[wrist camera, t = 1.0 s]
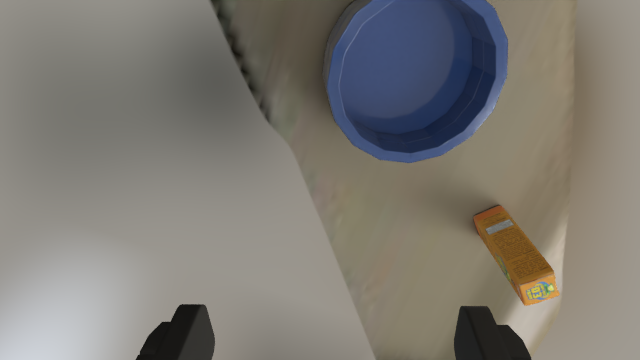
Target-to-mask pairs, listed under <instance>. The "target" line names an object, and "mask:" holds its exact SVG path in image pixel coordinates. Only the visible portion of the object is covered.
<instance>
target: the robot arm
mask: <svg viewBox="0 0 640 360" xmlns="http://www.w3.org/2000/svg"><path fill="white" fill-rule="evenodd" d="M214 346H215V338H214V333H213V329H212V326H211V322H210V319H209V315H208V312H207V308H206V306H205V305H196V304H195V305H194V304H191V305H188V304H185V305H183V304H182V305H180V306H179V307H178V308H177V310H176V312H175V314H174V316H173V318H172V320H171V322H162V323H161V324H160V325H159V326H158V327H157V328H156V329H155V330H154V331H153V332H152V333H151V334H150V335H149V336H148V338H147V340H146V342H145V344H144V345H143V347H142V349H141V351H140V355H138V356H137V358H136V360H211V359H212V356H213V353H214ZM454 350H455V356H456V360H531V356H530V354H529V352H528V350H527V348H526V346H525V344H524V342H523V340H522V339H521V338H520V337H519V336H518V335H517V334H516V333H515V332H514V331H513V330H512V329H511V328H510V327H509V326H508V325H496V322H495V320H494V318H493V316H492V313H491V311H490V309H489V308H488V307H487V306H461V307H460V310H459V316H458V321H457V326H456V332H455V337H454Z"/></svg>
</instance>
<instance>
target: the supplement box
mask: <svg viewBox="0 0 640 360" xmlns="http://www.w3.org/2000/svg"><path fill="white" fill-rule="evenodd" d="M473 219H474V222H475V225H476V228H477V230H478V233H479V236H480V237H481V239H482V240H483V242H484V243H485V245H486V246H487V248H488V249H489V251H490V253H491V254H492V256H493V257H494V259H495V260H496V262H497V263H498V265H499V266H500V268H501V270H502V271H503V273H504V274H505V276H506V278H507V279H508V281H509V282H510V284H511V285H512V287H513V288H514V290H515V291H516V293H517V294H518V296H519V298H520V299H521V301H522V302H523V304H524V305H526V306H527V305H531V304H535V303H539V302H542V301H545V300H548V299H550V298H553V297H556V296H559V295H560V294H559V291H558V290H557V287H556V282H555V278H556V277H555V273H554V270H553V269H552V268H551V266H550V265H549V264H548V262H547V261H546V260H545V259H544V257H543V256H542V255H541V254H540V252H539V251H538V250H537V249H536V247H535V246H534V245H533V244H532V242H531V241H530V240H529V239H528V237H527V236H526V235H525V234H524V232H523V231H522V230H521V229H520V228H519V226H518V225H517V224H516V223H515V221H514V220H513V219H512V218H511V217H510V215H509V214H508V213H507V212H506V211H505V209H504V208H503V207H502V206H500V205H499V206H496V207H494V208H491V209H489V210H487V211H484V212H482V213H480V214H477V215H475V216H474V217H473Z"/></svg>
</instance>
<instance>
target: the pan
mask: <svg viewBox="0 0 640 360" xmlns="http://www.w3.org/2000/svg"><path fill="white" fill-rule="evenodd" d="M507 58H508V39H507V37H506V34H505V32H504V30H503V27H502V25H501V22H500V20H499V18H498V15H497V13H496V11H495V8H493V6H492V5H491V4H489V3H488V2H487V1H486V0H355V1H354V2H352V3H351V4H350V5H349V6H348V7H347V9H345V11H344V12H343V14H342V15H341V16H340V18H339V19H338V21H337V22H336V24H335V26H334V28H333V30H332V32H331V34H330V36H329V38H328V40H327V45H326V50H325V54H324V62H323V70H322V75H323V80H324V84H325V89H326V93H327V97H328V101H329V105H330V108H331V112H332V115H333V118H334V120H335V122H336V123H337V124H338V126H339V127H340V128H341V130H342V131H343V132H344V134H345V135H346V136H347V138H348V139H349V140H350V142H351V143H352V144H353V145H354V146H356V147H358V148H359V149H361V150H363V151H365V152H367V153H368V154H370V155H372V156H374V157H376V158H377V159H380V160H388V161H397V162H405V163H412V162H416V161H421V160H425V159H429V158H433V157H437V156H441V155H443V154H445V153H446V152H448V151H449V150H451V149H453V148H454V147H456V146H457V145H459V144H461V143H462V142H464V141H465V140H467V139H469V138H470V137H471V136H472V135H473V134H474V133H475V131H476V130H477V129H478V128H479V127H480V126H481V124H482V123H483V122H484V121H485V120H486V119H487V117H488V116H489V115H490V114H491V113H492V111H493V110H494V108H495V105H496V103H497V100H498V98H499V95H500V93H501V90H502V88H503V85H504V83H505V80H506V78H507V77H506V76H507Z"/></svg>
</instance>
